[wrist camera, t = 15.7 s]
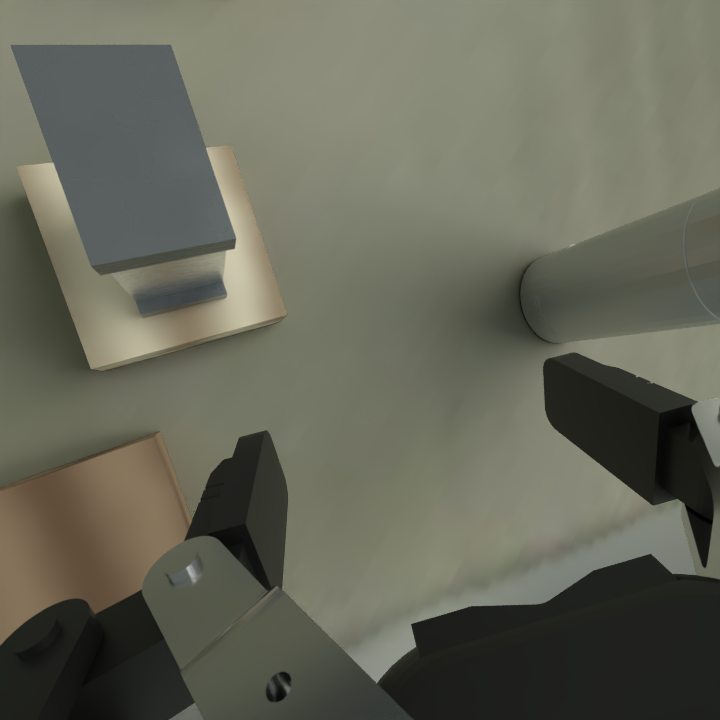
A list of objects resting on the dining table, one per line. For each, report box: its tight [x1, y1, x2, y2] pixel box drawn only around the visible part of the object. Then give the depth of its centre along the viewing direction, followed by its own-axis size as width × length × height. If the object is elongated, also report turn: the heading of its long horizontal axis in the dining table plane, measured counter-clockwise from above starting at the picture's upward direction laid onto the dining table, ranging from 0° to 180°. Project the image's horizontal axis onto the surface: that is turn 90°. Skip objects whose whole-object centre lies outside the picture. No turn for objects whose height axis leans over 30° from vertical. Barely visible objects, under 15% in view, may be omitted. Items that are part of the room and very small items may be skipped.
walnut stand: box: [0, 431, 192, 645], centre depth 23 cm, size 10×10×3 cm
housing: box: [11, 45, 236, 318], centre depth 19 cm, size 5×8×11 cm, turn 20°
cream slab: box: [16, 145, 287, 371], centre depth 25 cm, size 12×12×3 cm
